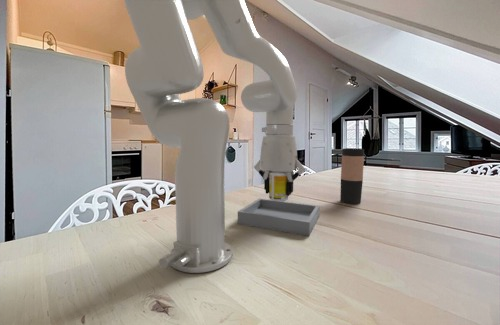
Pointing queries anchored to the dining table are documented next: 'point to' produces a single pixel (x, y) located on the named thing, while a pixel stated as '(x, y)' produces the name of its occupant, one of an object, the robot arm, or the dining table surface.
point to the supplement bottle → (277, 186)
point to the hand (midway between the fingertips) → (278, 193)
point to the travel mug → (352, 175)
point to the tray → (280, 216)
